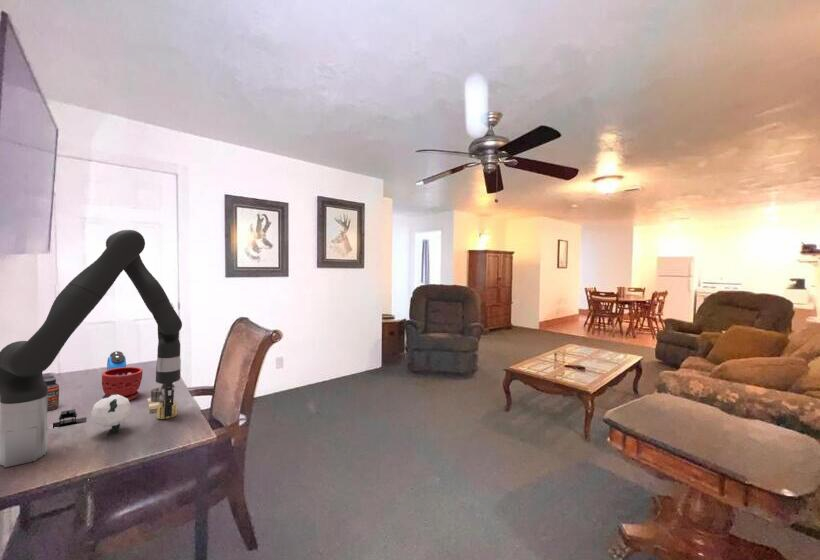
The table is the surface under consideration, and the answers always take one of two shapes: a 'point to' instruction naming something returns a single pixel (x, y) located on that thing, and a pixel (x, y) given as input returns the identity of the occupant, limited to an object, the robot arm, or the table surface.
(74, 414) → the black flared hood
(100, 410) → the figurine
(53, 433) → the table surface
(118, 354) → the alarm clock
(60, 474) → the table surface
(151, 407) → the gear board
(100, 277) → the robot arm
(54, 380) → the supplement bottle
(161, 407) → the brass gear
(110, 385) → the plant pot
